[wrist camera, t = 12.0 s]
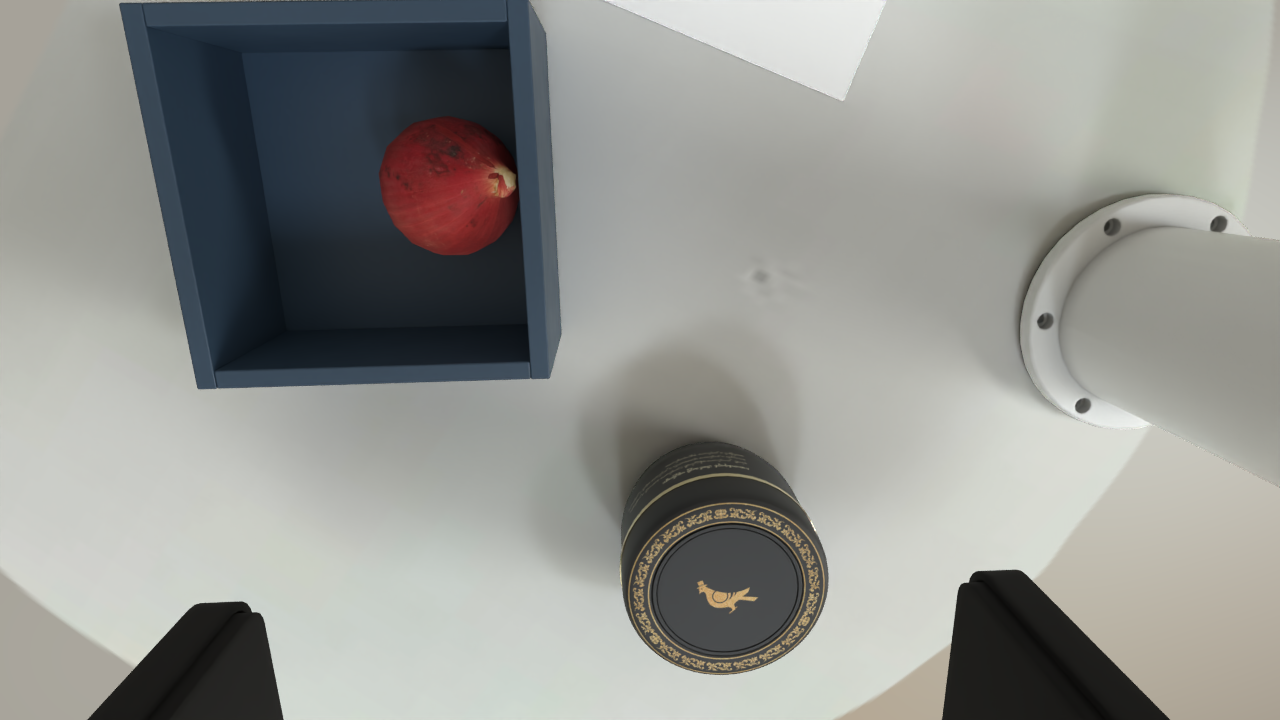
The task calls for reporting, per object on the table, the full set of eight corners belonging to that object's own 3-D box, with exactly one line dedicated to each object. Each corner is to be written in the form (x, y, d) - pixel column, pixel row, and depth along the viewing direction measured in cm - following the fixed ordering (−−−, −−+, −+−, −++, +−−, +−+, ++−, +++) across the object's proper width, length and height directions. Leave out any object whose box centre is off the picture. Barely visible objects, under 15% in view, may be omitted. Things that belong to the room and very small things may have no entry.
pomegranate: (321, 189, 31) (410, 165, 25) (404, 105, 33) (502, 67, 27) (416, 282, 34) (512, 280, 28) (484, 200, 36) (586, 183, 31)
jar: (801, 573, 42) (842, 662, 35) (634, 601, 42) (640, 697, 35) (782, 417, 39) (822, 478, 32) (604, 448, 39) (602, 516, 32)
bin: (545, 32, 33) (528, -3, 26) (561, 334, 37) (550, 378, 30) (227, 36, 33) (117, 2, 25) (278, 343, 37) (196, 389, 29)
